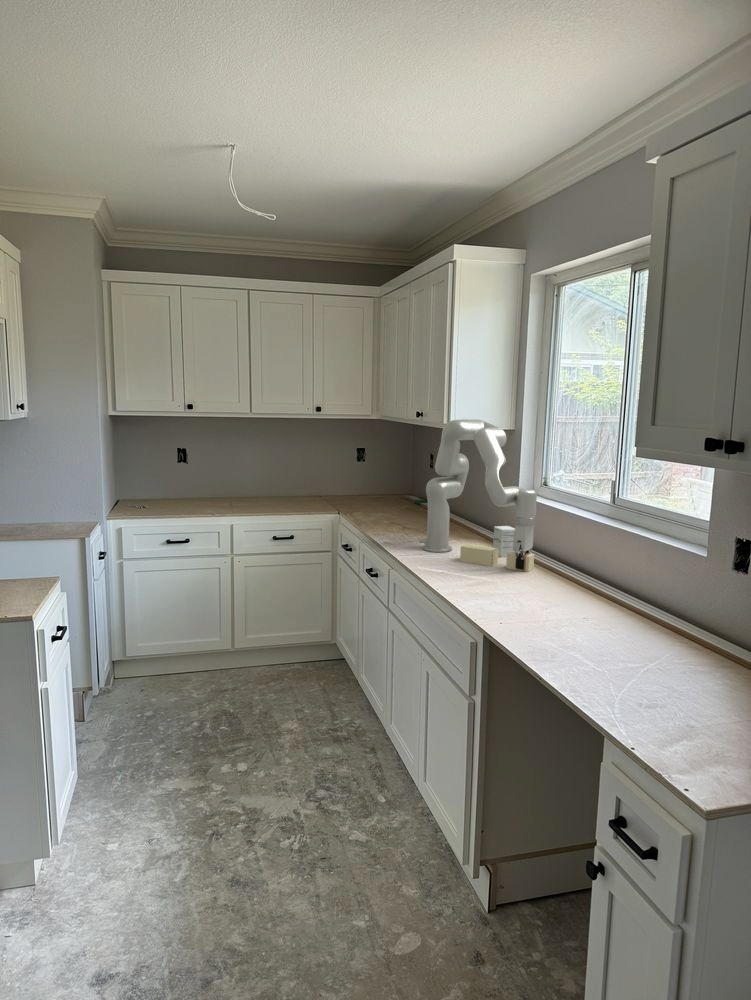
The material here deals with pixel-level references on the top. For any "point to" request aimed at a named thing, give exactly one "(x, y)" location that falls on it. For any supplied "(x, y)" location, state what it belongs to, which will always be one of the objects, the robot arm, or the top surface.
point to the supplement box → (503, 539)
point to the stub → (527, 561)
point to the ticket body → (479, 555)
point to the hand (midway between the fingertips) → (522, 566)
